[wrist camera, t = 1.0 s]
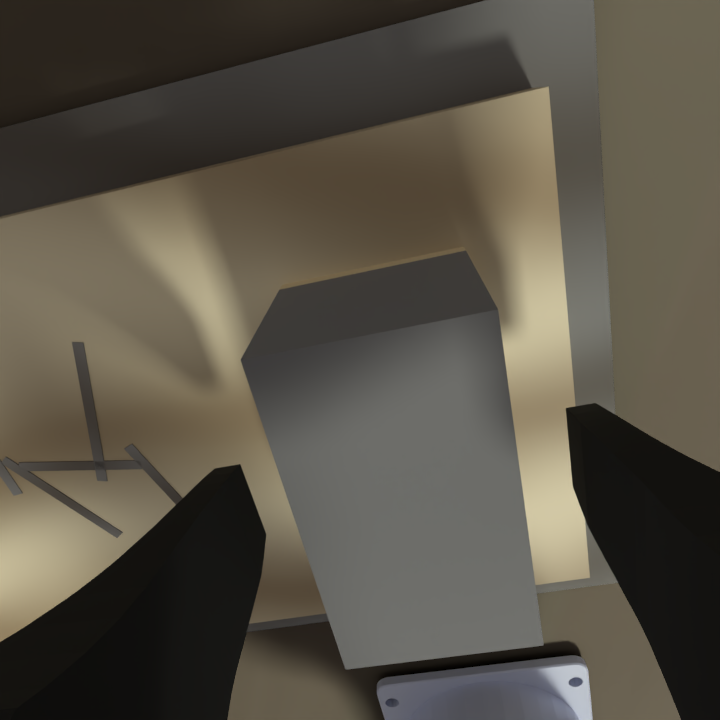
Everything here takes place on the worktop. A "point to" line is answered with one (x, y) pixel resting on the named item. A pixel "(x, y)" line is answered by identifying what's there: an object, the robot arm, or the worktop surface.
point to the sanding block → (400, 457)
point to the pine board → (288, 275)
